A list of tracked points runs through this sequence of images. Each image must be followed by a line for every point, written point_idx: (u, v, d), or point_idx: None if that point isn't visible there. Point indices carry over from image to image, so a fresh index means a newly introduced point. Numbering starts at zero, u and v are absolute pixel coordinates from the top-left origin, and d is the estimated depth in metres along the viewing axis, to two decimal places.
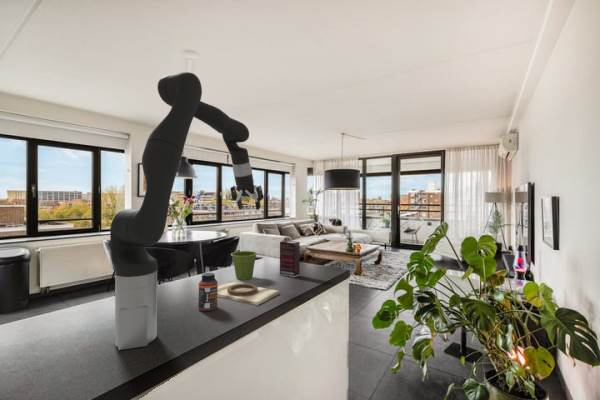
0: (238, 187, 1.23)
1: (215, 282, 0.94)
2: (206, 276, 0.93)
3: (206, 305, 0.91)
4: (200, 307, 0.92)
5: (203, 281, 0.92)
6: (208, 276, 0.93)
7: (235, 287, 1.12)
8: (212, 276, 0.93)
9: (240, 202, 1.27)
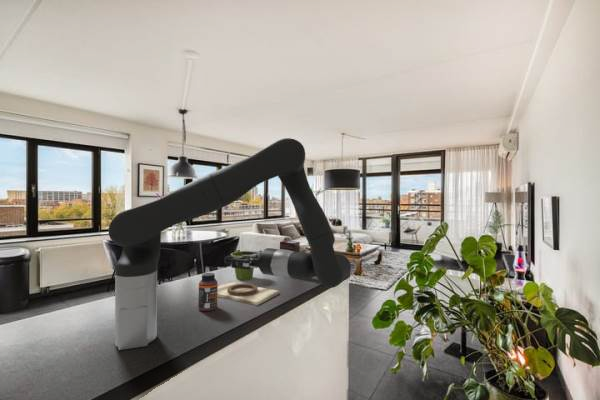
0: None
1: (215, 282, 0.94)
2: (206, 276, 0.93)
3: (206, 305, 0.91)
4: (200, 307, 0.92)
5: (203, 281, 0.92)
6: (208, 276, 0.93)
7: (235, 287, 1.12)
8: (212, 276, 0.93)
9: (250, 255, 0.91)
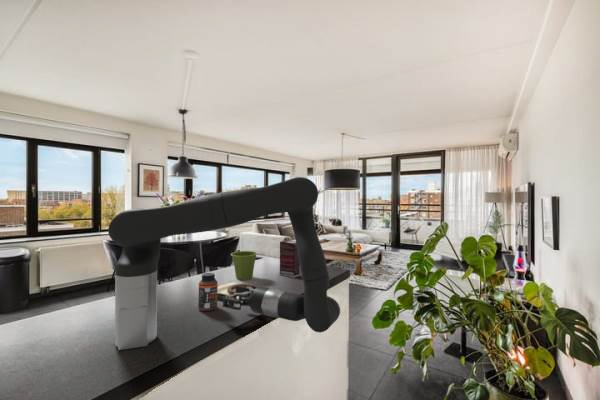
0: None
1: (215, 282, 0.94)
2: (206, 276, 0.93)
3: (206, 305, 0.91)
4: (200, 307, 0.92)
5: (203, 281, 0.92)
6: (208, 276, 0.93)
7: (235, 287, 1.12)
8: (212, 276, 0.93)
9: (243, 290, 0.93)
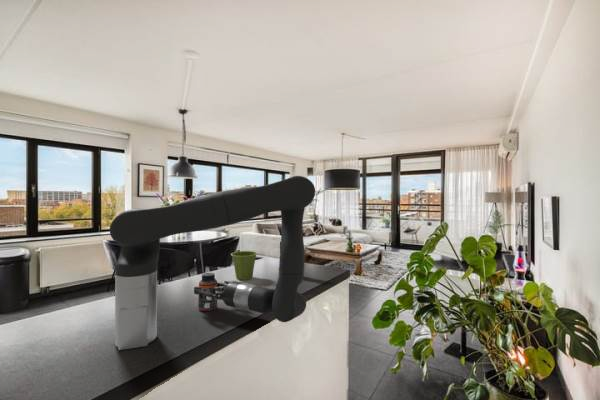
0: None
1: (215, 282, 0.94)
2: (206, 276, 0.93)
3: (206, 305, 0.91)
4: (200, 307, 0.92)
5: (203, 281, 0.92)
6: (208, 276, 0.93)
7: None
8: (212, 276, 0.93)
9: None
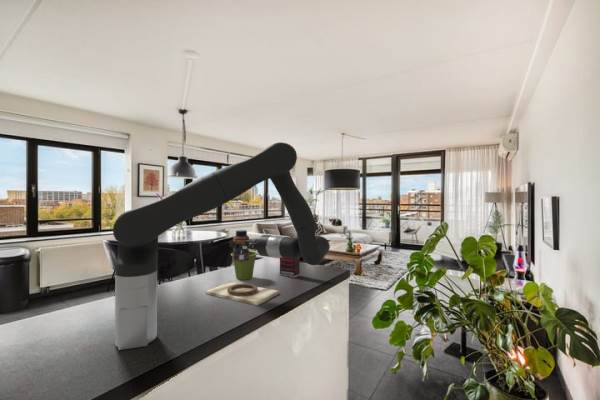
0: None
1: (247, 237, 1.07)
2: (240, 232, 1.06)
3: (240, 256, 1.05)
4: (235, 258, 1.05)
5: (237, 236, 1.06)
6: (242, 232, 1.06)
7: (235, 287, 1.12)
8: (245, 232, 1.07)
9: None
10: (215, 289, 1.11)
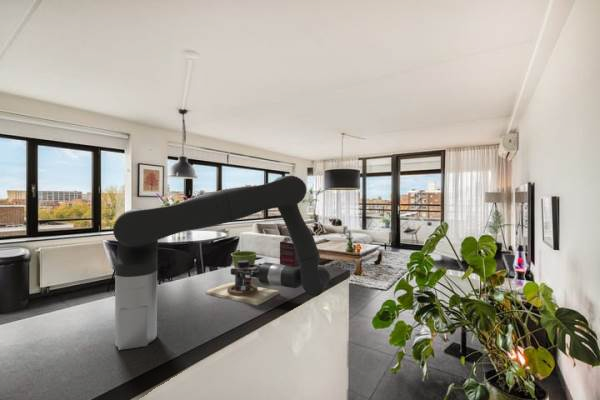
0: None
1: None
2: (242, 263, 1.07)
3: (242, 287, 1.06)
4: (237, 289, 1.07)
5: (239, 267, 1.07)
6: (243, 263, 1.07)
7: None
8: (247, 263, 1.08)
9: (251, 267, 1.12)
10: (215, 289, 1.11)
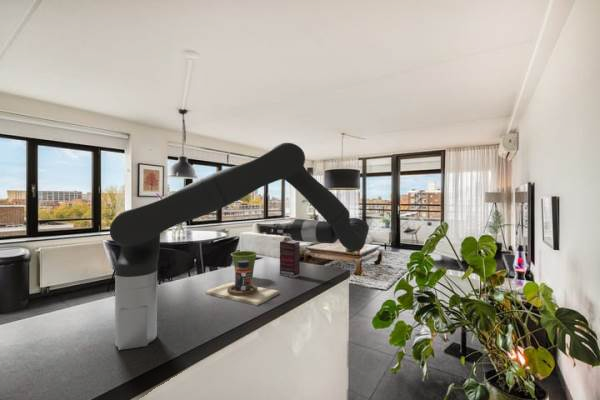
0: None
1: (249, 268, 1.09)
2: (242, 263, 1.07)
3: (242, 287, 1.06)
4: (237, 289, 1.07)
5: (239, 267, 1.07)
6: (244, 263, 1.07)
7: None
8: (247, 263, 1.08)
9: None
10: (215, 289, 1.11)
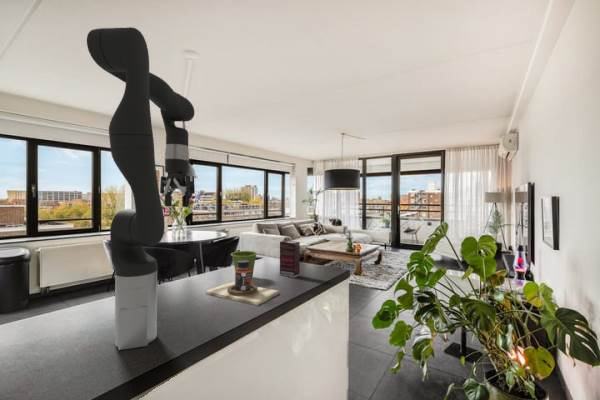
0: (168, 176, 0.99)
1: (249, 268, 1.08)
2: (242, 263, 1.07)
3: (242, 287, 1.06)
4: (237, 289, 1.07)
5: (239, 267, 1.07)
6: (244, 263, 1.07)
7: None
8: (247, 263, 1.08)
9: (168, 197, 1.00)
10: (215, 289, 1.11)
